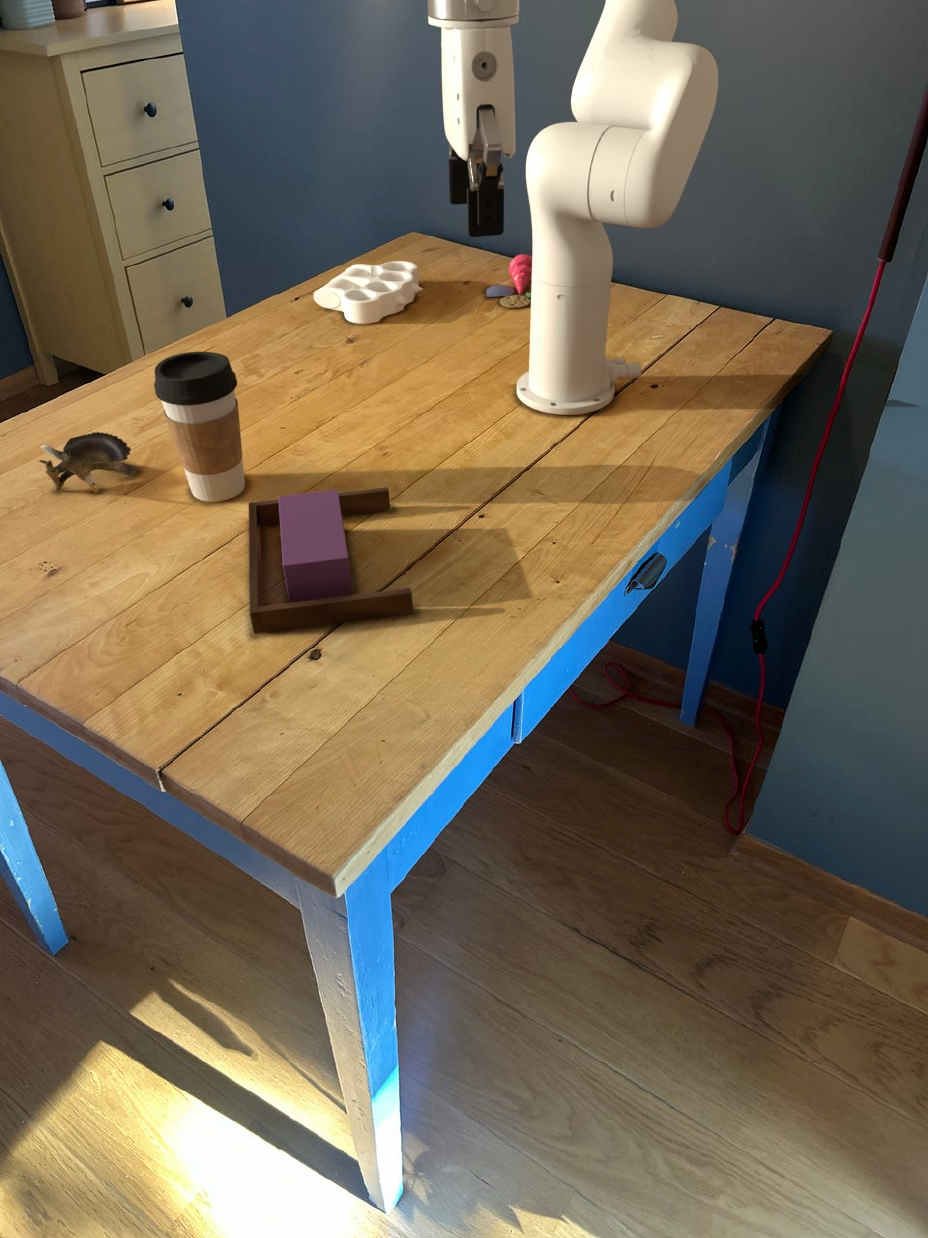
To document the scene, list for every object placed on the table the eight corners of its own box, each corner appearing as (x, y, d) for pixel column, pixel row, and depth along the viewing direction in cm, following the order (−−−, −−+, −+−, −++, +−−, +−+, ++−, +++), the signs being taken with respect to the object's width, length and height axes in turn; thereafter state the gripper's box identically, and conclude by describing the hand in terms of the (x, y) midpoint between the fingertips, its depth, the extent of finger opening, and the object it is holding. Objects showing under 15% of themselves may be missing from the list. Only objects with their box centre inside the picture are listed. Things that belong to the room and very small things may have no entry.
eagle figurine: (66, 506, 101) (142, 467, 104) (29, 446, 99) (107, 408, 102) (67, 508, 108) (138, 472, 111) (32, 453, 106) (105, 417, 109)
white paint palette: (358, 274, 155) (439, 286, 151) (304, 315, 143) (390, 329, 138) (357, 254, 153) (438, 265, 149) (301, 293, 140) (389, 306, 136)
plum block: (342, 529, 99) (337, 489, 95) (353, 599, 90) (348, 557, 86) (285, 536, 98) (278, 495, 95) (290, 607, 89) (282, 565, 86)
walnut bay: (389, 506, 102) (388, 486, 100) (413, 613, 88) (411, 592, 86) (252, 522, 100) (248, 502, 98) (253, 634, 86) (249, 613, 84)
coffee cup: (220, 516, 101) (191, 388, 91) (164, 494, 104) (131, 369, 95) (271, 480, 106) (250, 356, 97) (216, 461, 110) (190, 339, 100)
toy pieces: (476, 283, 152) (476, 255, 149) (542, 275, 153) (543, 248, 151) (495, 310, 143) (495, 282, 140) (565, 302, 145) (567, 274, 142)
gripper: (543, 14, 71) (536, 245, 82) (496, -14, 84) (495, 189, 95) (445, 18, 70) (451, 252, 81) (413, -11, 83) (422, 194, 94)
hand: (475, 218), depth 88 cm, fingers open, 9 cm apart
